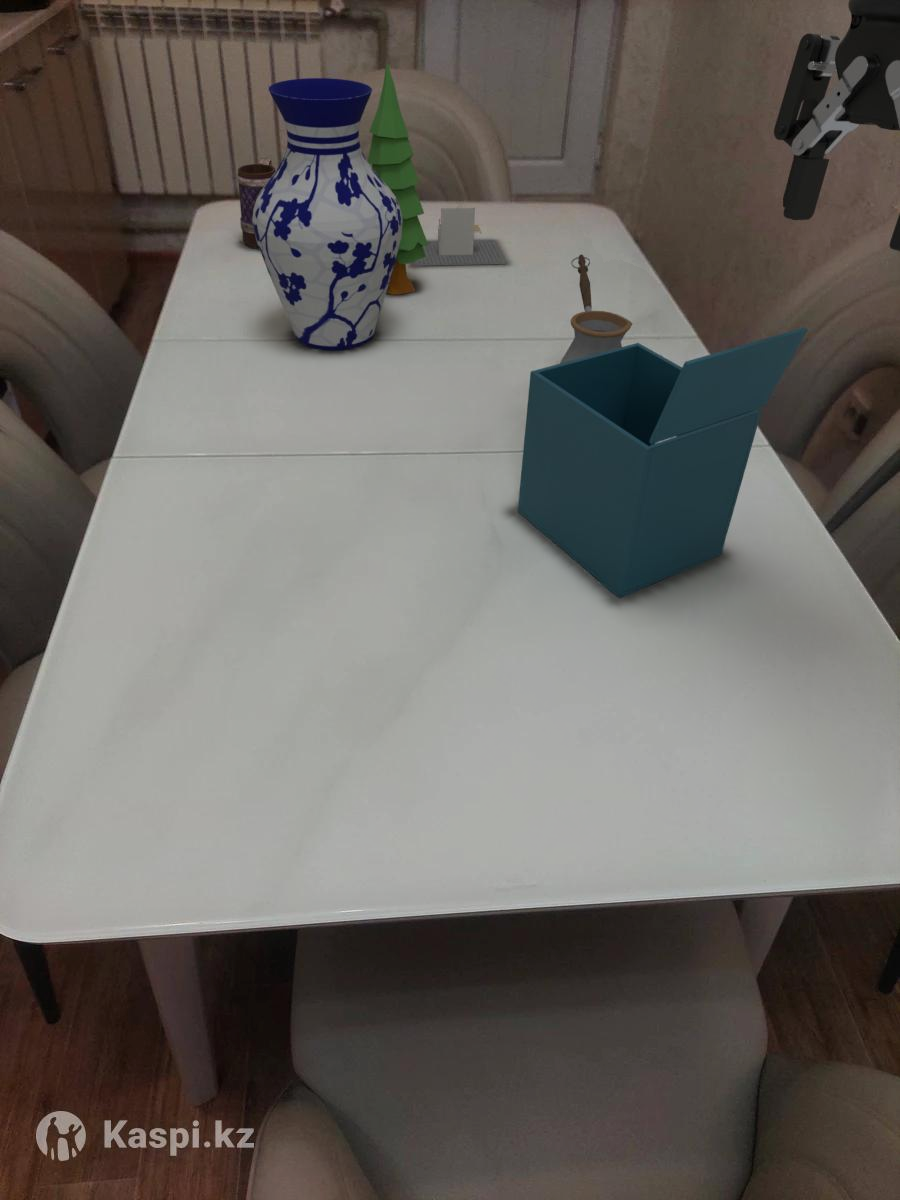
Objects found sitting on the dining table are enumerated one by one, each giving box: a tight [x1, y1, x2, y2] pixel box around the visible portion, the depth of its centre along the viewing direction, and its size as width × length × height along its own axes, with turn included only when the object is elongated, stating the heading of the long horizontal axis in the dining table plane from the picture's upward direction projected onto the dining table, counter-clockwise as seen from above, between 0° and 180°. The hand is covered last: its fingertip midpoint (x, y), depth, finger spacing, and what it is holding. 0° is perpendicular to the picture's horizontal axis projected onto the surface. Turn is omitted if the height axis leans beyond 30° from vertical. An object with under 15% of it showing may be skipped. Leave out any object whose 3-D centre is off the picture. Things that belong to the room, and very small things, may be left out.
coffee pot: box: [559, 254, 633, 364], centre depth 104 cm, size 21×12×15 cm, turn 2°
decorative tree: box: [367, 61, 429, 296], centre depth 127 cm, size 10×9×30 cm
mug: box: [237, 157, 276, 250], centre depth 148 cm, size 10×7×12 cm
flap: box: [649, 326, 809, 444], centre depth 70 cm, size 8×13×1 cm
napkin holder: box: [436, 204, 482, 256], centre depth 147 cm, size 3×7×7 cm, turn 98°
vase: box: [252, 77, 403, 351], centre depth 113 cm, size 19×19×30 cm
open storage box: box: [517, 342, 762, 599], centre depth 84 cm, size 16×13×16 cm
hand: (848, 233), depth 57 cm, fingers open, 8 cm apart
